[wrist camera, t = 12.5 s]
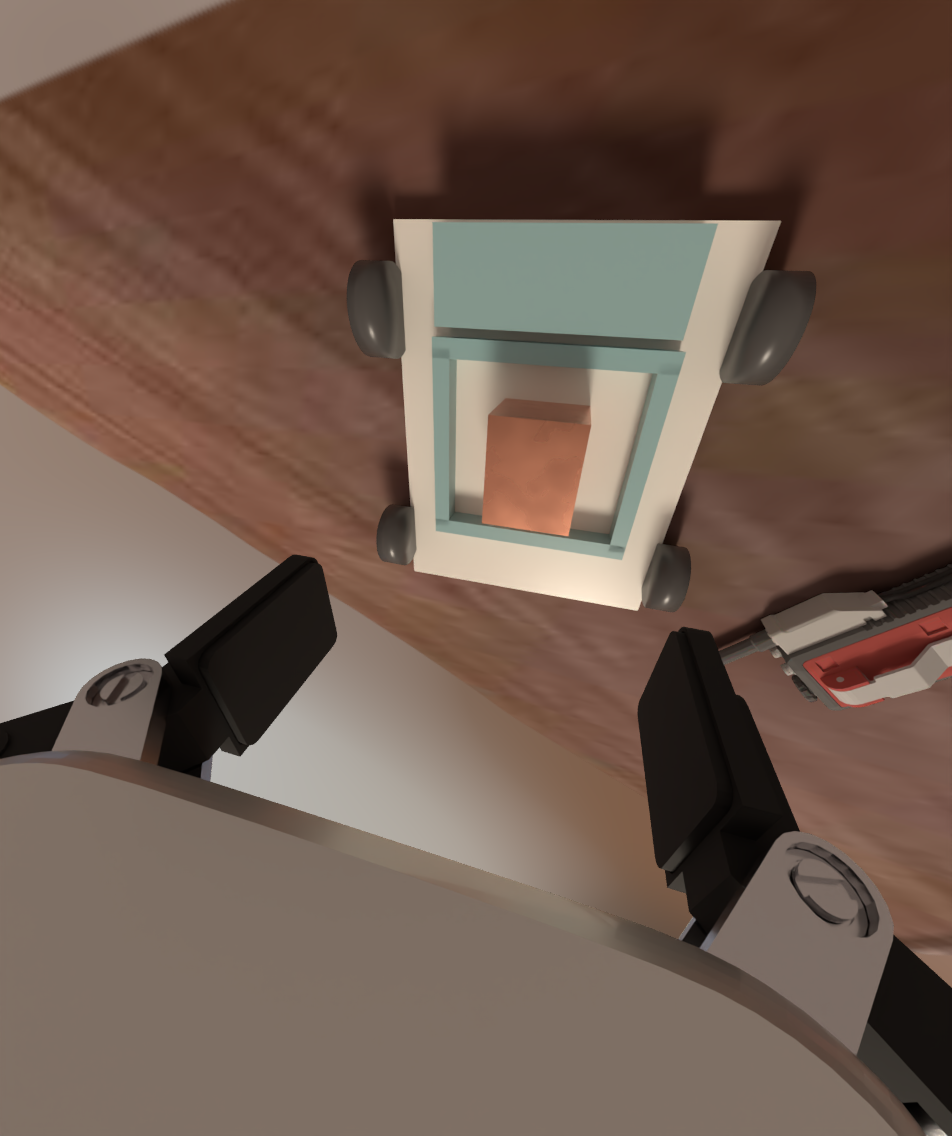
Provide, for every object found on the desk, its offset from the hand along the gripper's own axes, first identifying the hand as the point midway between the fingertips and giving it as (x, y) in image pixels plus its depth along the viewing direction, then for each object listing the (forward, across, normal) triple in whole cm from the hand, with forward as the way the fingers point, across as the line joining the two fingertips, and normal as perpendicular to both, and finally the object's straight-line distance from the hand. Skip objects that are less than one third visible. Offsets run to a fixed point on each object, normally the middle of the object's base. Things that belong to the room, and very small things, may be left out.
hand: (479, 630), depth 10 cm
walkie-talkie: (+19, -22, +12) cm, 31 cm away
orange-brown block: (+17, 0, 0) cm, 17 cm away
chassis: (+18, 0, 0) cm, 18 cm away
